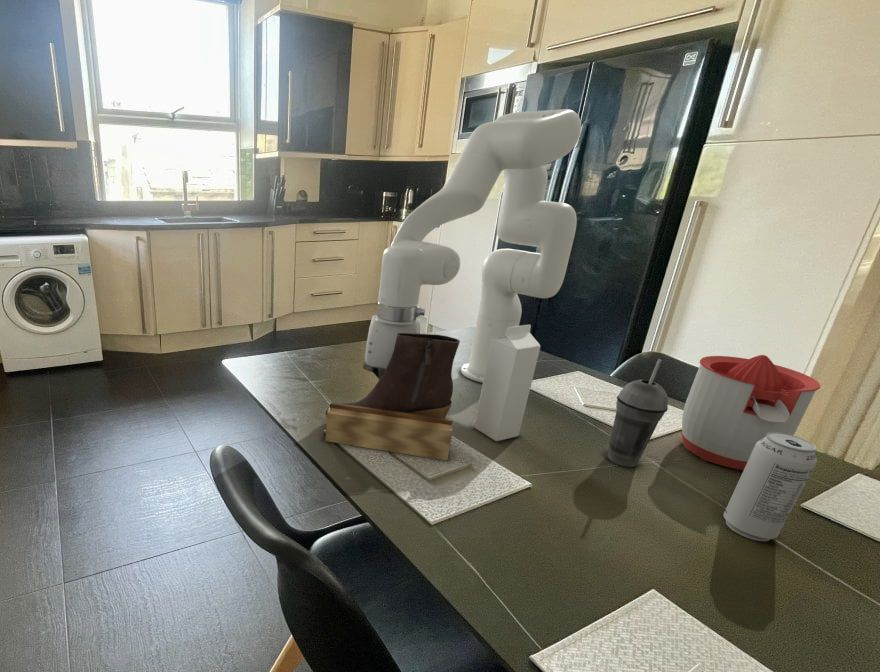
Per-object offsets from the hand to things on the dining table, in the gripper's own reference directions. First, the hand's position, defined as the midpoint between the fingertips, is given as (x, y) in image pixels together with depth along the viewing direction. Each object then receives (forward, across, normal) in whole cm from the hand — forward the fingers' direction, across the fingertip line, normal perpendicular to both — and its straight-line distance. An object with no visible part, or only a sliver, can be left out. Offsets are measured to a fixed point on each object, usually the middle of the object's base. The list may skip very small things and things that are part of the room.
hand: (385, 398), depth 100 cm
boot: (+4, 0, +6) cm, 7 cm away
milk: (+4, -22, 0) cm, 22 cm away
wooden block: (+4, -1, +13) cm, 13 cm away
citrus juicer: (+4, -62, -3) cm, 62 cm away
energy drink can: (+4, -54, +20) cm, 58 cm away
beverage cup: (+4, -43, +4) cm, 43 cm away
